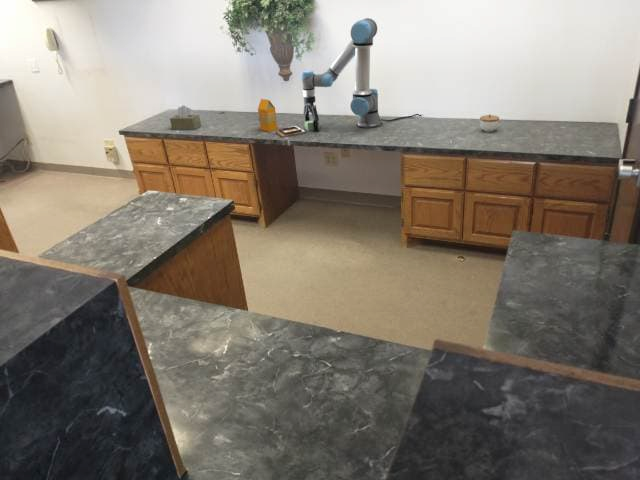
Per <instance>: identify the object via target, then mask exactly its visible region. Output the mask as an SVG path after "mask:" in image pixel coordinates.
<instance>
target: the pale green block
mask: <svg viewBox="0 0 640 480" xmlns="http://www.w3.org/2000/svg"><path fill="white" fill-rule="evenodd" d="M309 120H310V121H305V120H304V130H305V131H307V132H311V131H314V125H313V119H309ZM320 127H321V126H320V120H319V121H318V130H320Z"/></svg>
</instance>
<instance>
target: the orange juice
mask: <svg viewBox="0 0 640 480" xmlns="http://www.w3.org/2000/svg"><path fill="white" fill-rule="evenodd" d="M257 111H258V121H259V126H260V127H259V128H260V131H263V132H268V133H270V132H273V131H277V130H278V122H277V113H276V107H275V106H274V104H273V103H272V102H271V100H270V99H264V98H261V99H260V101H259V104H258V107H257Z"/></svg>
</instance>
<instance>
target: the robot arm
mask: <svg viewBox="0 0 640 480" xmlns="http://www.w3.org/2000/svg"><path fill="white" fill-rule="evenodd" d="M377 33H378V24H377V22H376V21H375V20H374V19H372V18H368V17H367V18H363V19H359V20H357V21H355V23H353V24H352V26H351V28H350V38H351V40H350V41H349V42H348V44H347V45H346V46H345V48H343V51H342V52H340V54H339V55H338V57H337V58H336V59H335V60H334V61H333V63H332V64H331V65H330V66H329V68H327V70H326V71H324V72H323V73H317V74H315V72H314V71H313V70H311V69H310V70H303V71H302V72H301V84H302V94H303V111H302V112H303V113H302V114H303V116H304V122H305V121H310V120H311V119H310V114H311V117H312V120H313V125H314V130H313V132H319V129H318V121H319V122H320V118H319V113H318V110H317V105H316V104H314V103H316V101H317V100H316V88H331V87H332V86H333V84H334V82H336V81H337V79H338V77H339V76H340V74H342V72H343V71H344V70H345V68H347V66H348V65H349V64H350V62H352V60H353V59H354V61H355V63H354V66H355V67H354V68H355V71H354V73H355V75H354V90H353V91H352V100H351V101H350V105H349V106H350V110H351V112H352V113H353V114H354V115H355V116H358V120H357V126H358V127H359V128H363V129H372V128H377V127H380V126H381V125H382V122H393V121H396V120H401V119H406V118H407V119H408V118H413V117H416V116H419V117H422V114H420V113H415V114H412V115H407V116H400V117H396V118H393V119H381V116H380V114H379V92H378V89H377V88H370V79H371V77H370V76H371V75H370V74H371V48H372V47H373V45H374V37H376V35H377ZM354 57H355V58H354ZM419 114H420V115H419Z"/></svg>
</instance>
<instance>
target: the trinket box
mask: <svg viewBox="0 0 640 480" xmlns="http://www.w3.org/2000/svg"><path fill="white" fill-rule="evenodd" d="M499 122H500V117H499V115H493V114H486V115H481V116H480V117H479V125H480V128H481V130H482V131H483V132H485V133H491V132H494V131H495V130H496V129H497V128H498V126H499Z"/></svg>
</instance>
